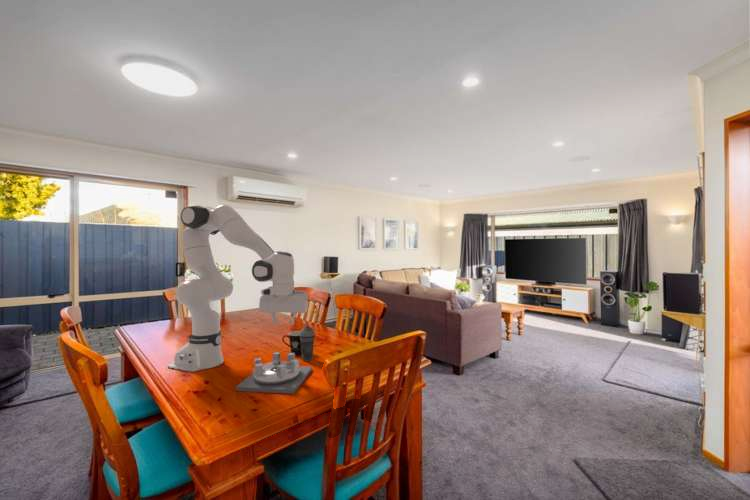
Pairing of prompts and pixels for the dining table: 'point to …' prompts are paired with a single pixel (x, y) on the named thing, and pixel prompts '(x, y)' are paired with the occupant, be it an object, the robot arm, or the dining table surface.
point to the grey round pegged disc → (276, 370)
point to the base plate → (282, 388)
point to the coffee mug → (294, 342)
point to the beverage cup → (307, 342)
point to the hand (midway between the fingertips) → (283, 322)
